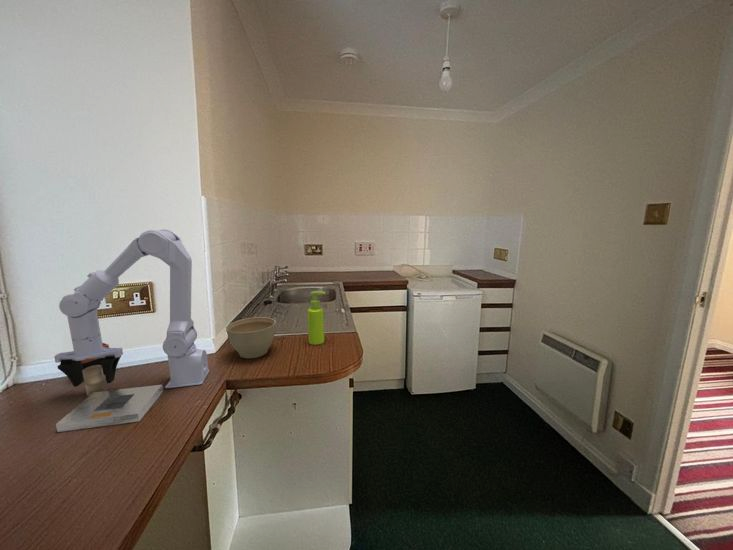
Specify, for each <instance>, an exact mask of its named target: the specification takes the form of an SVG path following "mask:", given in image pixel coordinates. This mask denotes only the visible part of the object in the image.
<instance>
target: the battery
mask: <svg viewBox="0 0 733 550" xmlns="http://www.w3.org/2000/svg"><path fill="white" fill-rule="evenodd" d="M102 345H103V347H105V348H110V345H109V344H107V343H105V342H102ZM104 359H105V358H94V359H85V360H81V374H82V380H84V377H83V372H82V370H83V369H85V368H87V367H90V366H94V365H101V364H100V362H101V361H102V360H104ZM103 374H104V375H105V372H104V370H103Z"/></svg>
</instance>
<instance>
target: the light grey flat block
mask: <svg viewBox="0 0 733 550" xmlns="http://www.w3.org/2000/svg"><path fill="white" fill-rule="evenodd" d="M162 393H164V386H163V384H156V385H149V386H148V385H147V386H139V387H138V386H136V387H128V388H120V389H111V390H105V391H100V392H94V393H93V394H91V395H90V396H88V397H87V398H85V399H84V400H83V401H82V402H80V403H79V404H78V405H77V406H76V407H74V408H73V409H72V410H71V411H69V413H67V414H66V415H65V416H64V417H63V418H61V419H60V420H59V421H58V422H57V423H56V424H55V426H56V431H57V433H61V432H63V433H64V432H71V431H76V430H77V431H78V430H83V429H92V428H99V427H107V426H115V425H123V424H129V423H130V424H131V423H137V422H140V421H141V420H142V419H143V417H145V415H146V414H147V412H148V411H149V410H150V408H151V407H153V405H154V404H155V402H156V401H157V400H158V399H159V397H160V396H161V394H162Z"/></svg>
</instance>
